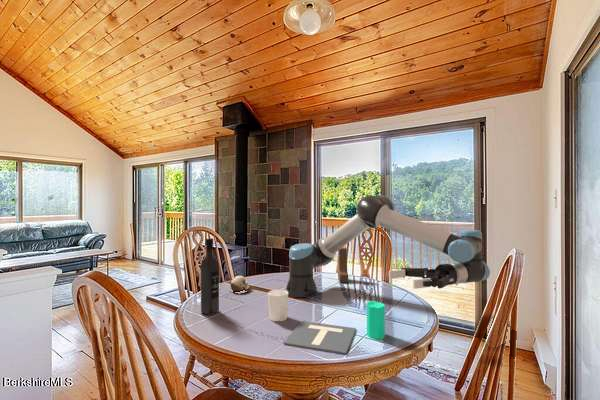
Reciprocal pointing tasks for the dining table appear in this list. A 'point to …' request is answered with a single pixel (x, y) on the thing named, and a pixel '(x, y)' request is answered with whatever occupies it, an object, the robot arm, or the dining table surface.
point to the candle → (375, 320)
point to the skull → (240, 284)
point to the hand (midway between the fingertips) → (400, 279)
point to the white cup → (278, 305)
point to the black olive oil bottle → (209, 281)
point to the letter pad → (321, 337)
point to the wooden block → (342, 265)
